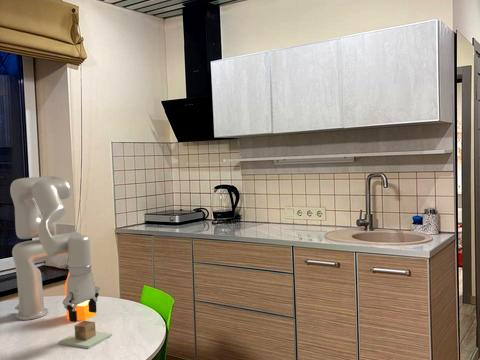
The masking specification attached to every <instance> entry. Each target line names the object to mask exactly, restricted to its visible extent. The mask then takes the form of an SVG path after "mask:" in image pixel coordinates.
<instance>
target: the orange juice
mask: <svg viewBox="0 0 480 360" xmlns="http://www.w3.org/2000/svg"><path fill="white" fill-rule="evenodd" d="M68 276H70V275H69V273H68V274H67V278H66V280H65V284H64V294H65V298H66V297H67V279H68ZM88 301H90V300H87V301H85V302H83V303H80V304H78V305H77V307H76V309H75V311H77V321H82V322H83V321H87V320H89V319H91V318H92V317H94V316H96V315H97V312H96V313H92V312H89V305H88ZM73 305H74V304H73ZM73 305H72V307H73ZM66 316H67V317H66V319H67V320H69V311H67V310H66Z"/></svg>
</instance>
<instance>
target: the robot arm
mask: <svg viewBox="0 0 480 360" xmlns="http://www.w3.org/2000/svg"><path fill="white" fill-rule="evenodd" d="M11 182H12V183H11V184H10V192H9V193H10V197H11V199H12V202H13V206H14V217H15V218H14V221H15V223H14V224H15V234H16V236H17V238H18V239H20V240H27V241H23V242H21V241H20V242H18V243H16V244H15V245H14V246H13V248H12V250H11V254H12V258H13V259H12V260H13V261H14V266H15V272H16V283H17V284H16V285H17V292H18V293H17V294H18V304H17V305H16V306H15V307H14V309H15V310H16V311H17V310H18V312H17V313H16V314H15V317H16V319H17V320H20V321H28V320H34V319H39V318H42V317H45V316H46V315H47V314H48V313H49V309H48V308H46V307H45V303H44V290H43V278H42V272H41V270H40V269H39V268H38V267H37V266H36V265H35V264H37V263H40V262H46V261H50V260H53V259H54V258H55V257H59V256H64V255H67V256H68V258H67V259H68V274H69V275H70V276H68V275H67V277H68V279H67V278H66V280H67V297H66V296H65V298H63V300H62V304H63V306H64V309H66V312H67V311H69V319H68V320H69V322H71V323H77V322H78V320H77V311H75V309H76V307H77V305H78V304H80V303H83V302H85V301H87V300H90V301H88V305H89V312H92V313H96V314H97V301H98V297H99V293H100V289H101V288H100V287H99V286H96V285H95V277H94V273H93V271H92V267H93V264H92V262H91V261H92V260H91V245H90V237H89V236H88V235H83V234H82V233H80V232H77V231H73V232H68V233H61V234H57V223H56V222H57V221H58V220H59V221H60V220H61V218H63V217H64V215H65V213H66V207H65V205H64V203H63V202H62V200H65V199H66V200H67V199H69V198H70V196H71V194H72V191H71V185H70V183H69V182H68V181H67V180H66V179H65V178H63V177H57V176H50V175H49V176H32V177H22V178H17V179H15V180H13V181H11ZM38 209H39V211H40V214H38ZM36 238H38V239H36ZM28 239H30V240H28ZM31 239H32V240H31ZM33 239H34V240H33ZM73 304H74V305H73ZM72 305H73V307H72Z"/></svg>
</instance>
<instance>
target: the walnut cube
mask: <svg viewBox="0 0 480 360" xmlns="http://www.w3.org/2000/svg"><path fill="white" fill-rule="evenodd" d="M74 334H75V339H77V340H84V341H87V340H89V339H91V338H92V337H94V336H96V321H90V320H89V321H87V320H86V321H83V320H82V321H80V322H78V323H76V324H75V325H74Z"/></svg>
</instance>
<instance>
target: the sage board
mask: <svg viewBox="0 0 480 360" xmlns="http://www.w3.org/2000/svg"><path fill="white" fill-rule="evenodd" d="M112 336H113V333H109V332H102V331H96V336H94V337H92V338H91V339H89V340H87V341H84V340H77V339H75V333H73V334H71V335H69V336H67V337H64V338H62V339H61V340H59V341H58V344H59V345H65V346H69V347H70V346H71V347H77V348H84V349H90V348H92V347H94V346H96V345H98V344H100V343H102V342H103V341H106V340H107V339H109V338H111V337H112Z"/></svg>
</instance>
